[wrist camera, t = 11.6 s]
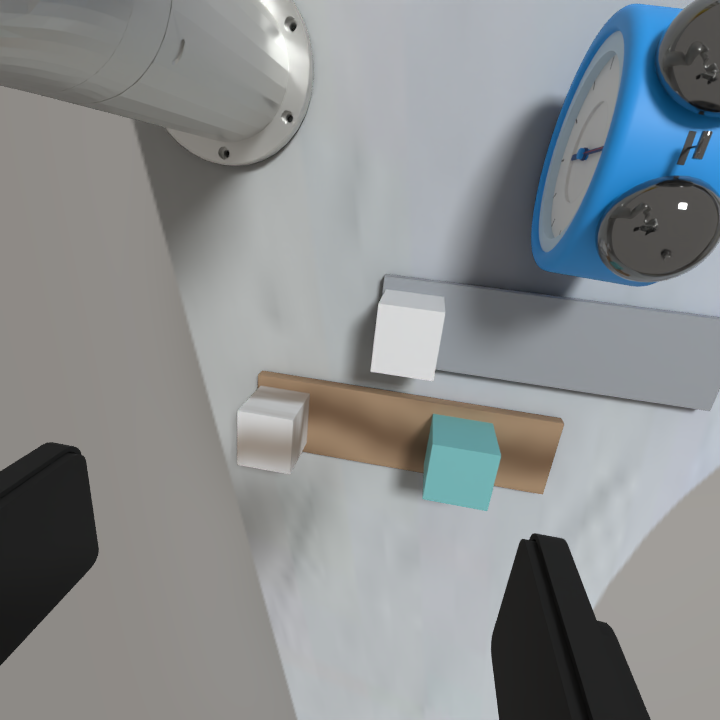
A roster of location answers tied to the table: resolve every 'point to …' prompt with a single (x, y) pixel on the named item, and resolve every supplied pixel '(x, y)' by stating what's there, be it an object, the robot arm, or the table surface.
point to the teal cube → (460, 462)
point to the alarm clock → (636, 152)
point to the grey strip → (547, 341)
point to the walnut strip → (379, 429)
